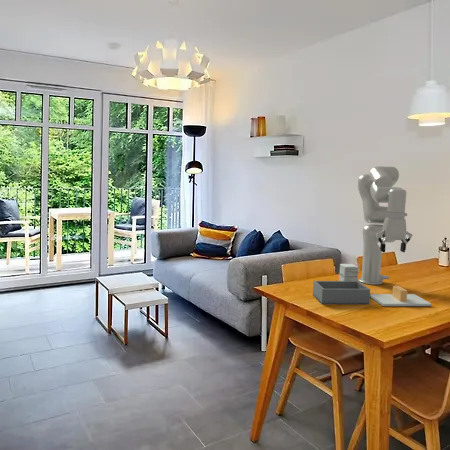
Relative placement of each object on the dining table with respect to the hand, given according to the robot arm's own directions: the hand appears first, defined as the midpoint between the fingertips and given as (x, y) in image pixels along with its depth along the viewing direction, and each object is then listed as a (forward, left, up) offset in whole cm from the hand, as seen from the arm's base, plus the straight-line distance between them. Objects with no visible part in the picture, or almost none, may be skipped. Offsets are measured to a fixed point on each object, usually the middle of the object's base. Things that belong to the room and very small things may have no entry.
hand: (392, 251), depth 209 cm
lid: (-3, +5, -23) cm, 24 cm away
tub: (+24, +2, -23) cm, 33 cm away
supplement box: (+14, -16, -23) cm, 32 cm away
